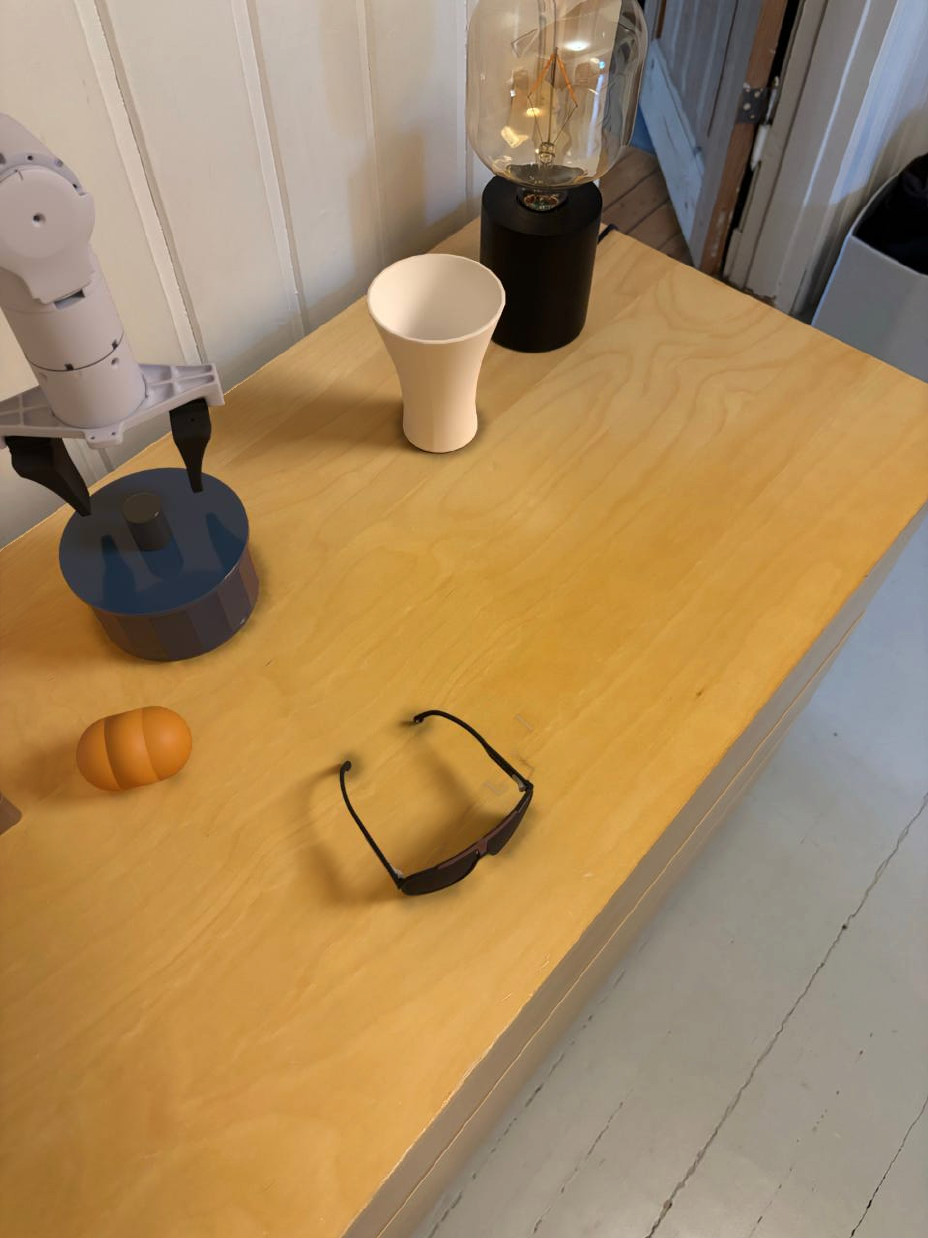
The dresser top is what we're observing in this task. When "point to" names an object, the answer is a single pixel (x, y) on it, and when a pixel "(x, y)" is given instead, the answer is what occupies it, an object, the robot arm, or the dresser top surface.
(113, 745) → the orange banded oval part
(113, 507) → the lid
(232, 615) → the pot
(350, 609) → the dresser top surface
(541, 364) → the dresser top surface
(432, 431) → the cup
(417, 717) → the sunglasses
